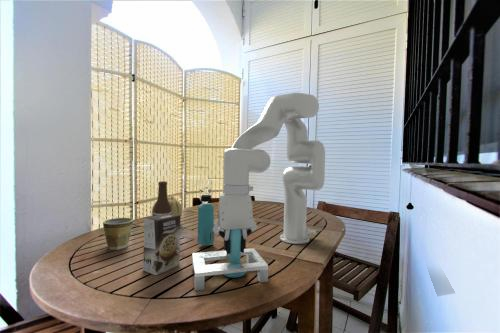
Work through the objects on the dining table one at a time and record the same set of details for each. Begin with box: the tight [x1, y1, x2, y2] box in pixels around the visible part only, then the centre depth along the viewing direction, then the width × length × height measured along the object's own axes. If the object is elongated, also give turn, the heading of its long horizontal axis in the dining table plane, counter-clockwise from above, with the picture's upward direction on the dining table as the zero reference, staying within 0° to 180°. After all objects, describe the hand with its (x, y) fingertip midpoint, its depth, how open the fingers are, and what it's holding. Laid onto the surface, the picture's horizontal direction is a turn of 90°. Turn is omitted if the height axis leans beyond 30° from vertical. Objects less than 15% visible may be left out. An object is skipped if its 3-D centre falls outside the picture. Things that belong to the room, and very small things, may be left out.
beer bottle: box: [152, 180, 172, 216], centre depth 105 cm, size 8×8×24 cm
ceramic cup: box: [102, 217, 134, 251], centre depth 94 cm, size 13×10×10 cm
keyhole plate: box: [191, 247, 269, 291], centre depth 73 cm, size 20×14×4 cm
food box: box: [142, 213, 182, 276], centre depth 76 cm, size 9×6×16 cm
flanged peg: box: [223, 229, 247, 279], centre depth 73 cm, size 7×7×16 cm
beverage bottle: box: [197, 194, 216, 246], centre depth 95 cm, size 6×7×20 cm
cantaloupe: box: [150, 195, 183, 218], centre depth 124 cm, size 15×15×15 cm
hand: (234, 251), depth 73 cm, fingers closed on flanged peg, 3 cm apart
